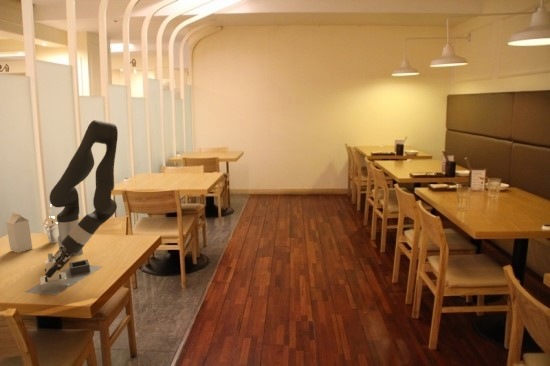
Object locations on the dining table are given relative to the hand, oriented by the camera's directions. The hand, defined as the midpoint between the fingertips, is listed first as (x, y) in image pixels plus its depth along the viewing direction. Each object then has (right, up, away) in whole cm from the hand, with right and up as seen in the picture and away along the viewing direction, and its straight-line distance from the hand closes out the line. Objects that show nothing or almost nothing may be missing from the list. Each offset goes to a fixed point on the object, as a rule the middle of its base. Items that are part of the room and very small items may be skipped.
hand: (47, 273), depth 164 cm
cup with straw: (-27, +4, +58) cm, 65 cm away
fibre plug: (+2, -5, +2) cm, 5 cm away
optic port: (+2, -5, +2) cm, 5 cm away
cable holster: (+5, -2, +16) cm, 17 cm away
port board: (+3, -5, +8) cm, 10 cm away
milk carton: (-38, +2, +47) cm, 60 cm away
